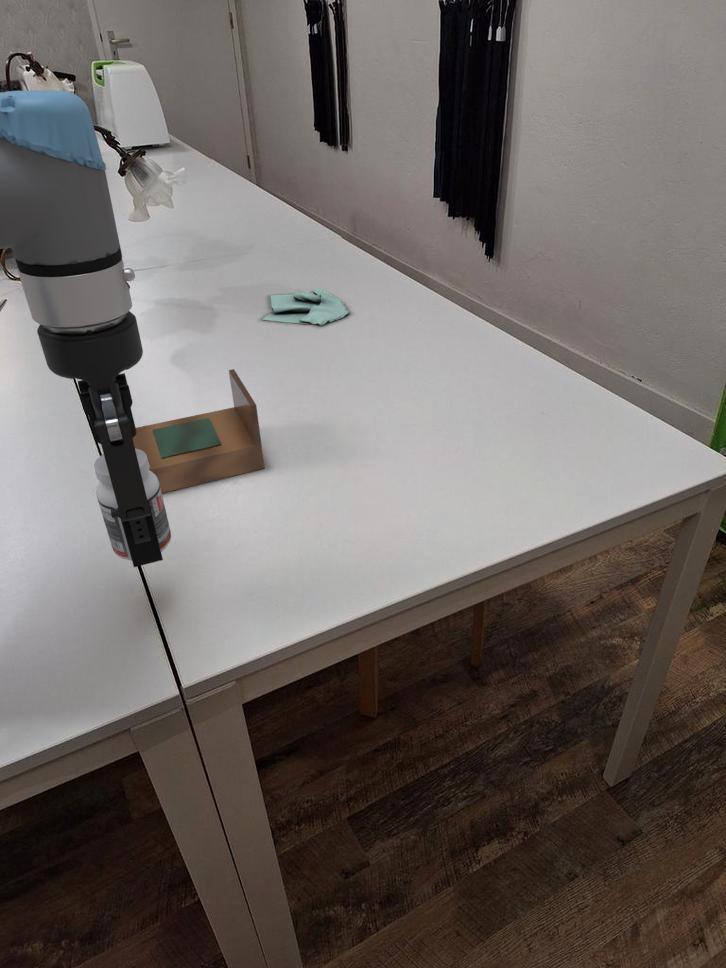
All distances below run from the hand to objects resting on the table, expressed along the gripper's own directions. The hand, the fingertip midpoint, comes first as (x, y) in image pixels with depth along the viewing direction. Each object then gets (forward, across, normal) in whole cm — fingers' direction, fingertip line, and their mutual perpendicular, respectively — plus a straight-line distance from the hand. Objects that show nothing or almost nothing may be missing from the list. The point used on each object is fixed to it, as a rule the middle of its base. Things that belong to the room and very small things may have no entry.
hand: (143, 541), depth 65 cm
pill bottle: (+1, 0, 0) cm, 1 cm away
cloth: (+8, +78, -44) cm, 90 cm away
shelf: (+8, +26, -10) cm, 29 cm away
